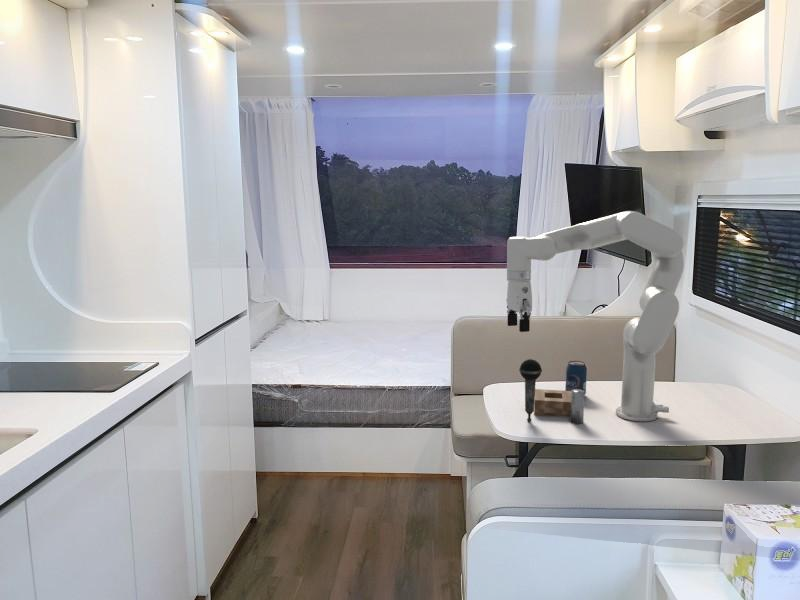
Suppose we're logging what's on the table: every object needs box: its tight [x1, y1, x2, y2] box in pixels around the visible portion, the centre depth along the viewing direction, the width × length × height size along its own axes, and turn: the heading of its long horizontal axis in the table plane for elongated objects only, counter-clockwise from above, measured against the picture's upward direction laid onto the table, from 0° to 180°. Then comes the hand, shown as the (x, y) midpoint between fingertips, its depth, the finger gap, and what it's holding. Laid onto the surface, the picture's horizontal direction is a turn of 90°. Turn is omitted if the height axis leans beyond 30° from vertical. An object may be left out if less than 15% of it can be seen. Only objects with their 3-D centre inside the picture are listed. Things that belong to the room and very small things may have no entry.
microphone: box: [518, 358, 543, 423], centre depth 197 cm, size 7×7×20 cm
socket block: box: [533, 388, 571, 418], centre depth 209 cm, size 12×12×5 cm
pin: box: [569, 389, 586, 425], centre depth 197 cm, size 4×4×10 cm
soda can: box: [564, 360, 588, 396], centre depth 223 cm, size 7×7×12 cm
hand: (518, 328), depth 204 cm, fingers open, 9 cm apart
